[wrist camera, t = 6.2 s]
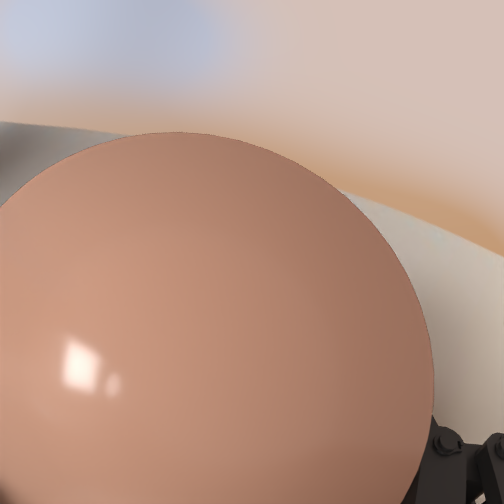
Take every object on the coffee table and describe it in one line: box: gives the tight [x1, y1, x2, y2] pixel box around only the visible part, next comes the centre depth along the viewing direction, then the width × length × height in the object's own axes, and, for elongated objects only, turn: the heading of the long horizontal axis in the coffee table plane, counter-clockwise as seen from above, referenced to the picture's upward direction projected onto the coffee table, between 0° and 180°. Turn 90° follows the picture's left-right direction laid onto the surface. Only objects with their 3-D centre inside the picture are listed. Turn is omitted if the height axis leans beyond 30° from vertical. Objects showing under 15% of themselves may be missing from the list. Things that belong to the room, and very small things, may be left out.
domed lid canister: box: [0, 132, 434, 504], centre depth 8 cm, size 9×9×10 cm
